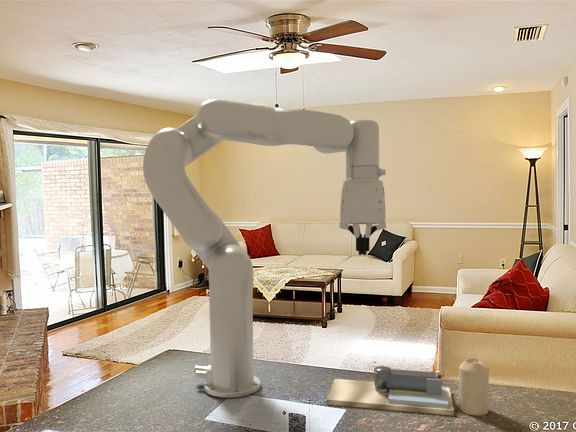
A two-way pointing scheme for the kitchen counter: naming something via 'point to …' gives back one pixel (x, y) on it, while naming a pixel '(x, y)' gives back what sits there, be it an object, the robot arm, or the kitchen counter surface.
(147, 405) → the kitchen counter surface
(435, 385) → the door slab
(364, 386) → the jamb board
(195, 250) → the robot arm
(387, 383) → the latch bar
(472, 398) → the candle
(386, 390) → the pivot post
